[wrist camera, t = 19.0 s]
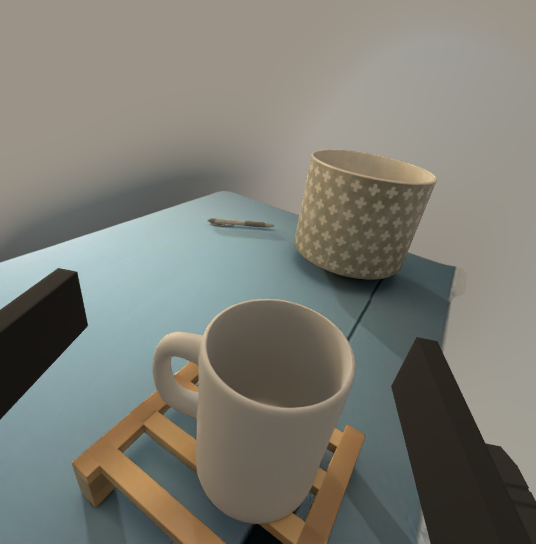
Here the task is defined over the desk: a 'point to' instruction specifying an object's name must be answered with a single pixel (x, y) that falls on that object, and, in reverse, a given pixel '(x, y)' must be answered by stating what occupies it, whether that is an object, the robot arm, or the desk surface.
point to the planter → (360, 212)
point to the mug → (260, 402)
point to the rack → (167, 510)
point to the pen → (238, 223)
